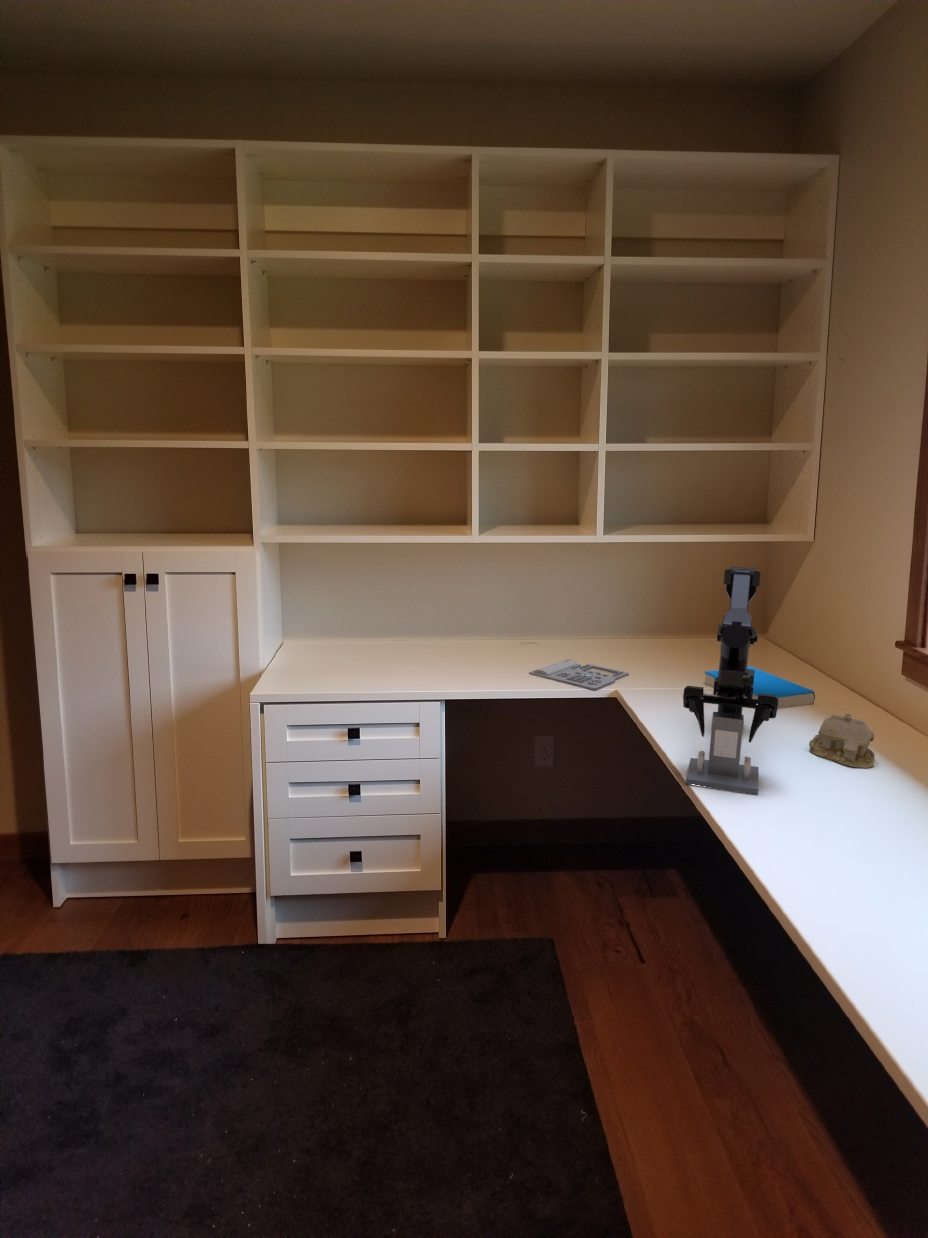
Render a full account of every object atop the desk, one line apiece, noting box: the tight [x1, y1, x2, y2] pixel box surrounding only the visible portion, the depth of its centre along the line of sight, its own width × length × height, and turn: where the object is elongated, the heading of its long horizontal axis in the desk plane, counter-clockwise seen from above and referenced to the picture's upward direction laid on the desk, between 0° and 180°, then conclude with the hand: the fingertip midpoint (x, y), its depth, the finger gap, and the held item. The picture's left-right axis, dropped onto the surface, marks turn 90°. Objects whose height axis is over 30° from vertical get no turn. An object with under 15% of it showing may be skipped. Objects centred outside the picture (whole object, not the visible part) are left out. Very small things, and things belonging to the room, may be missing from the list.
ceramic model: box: [808, 713, 876, 769], centre depth 185 cm, size 14×11×10 cm
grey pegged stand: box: [685, 750, 760, 795], centre depth 173 cm, size 12×14×5 cm
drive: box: [708, 711, 745, 778], centre depth 172 cm, size 3×6×12 cm, turn 71°
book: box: [704, 665, 816, 709], centre depth 230 cm, size 17×4×25 cm
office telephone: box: [528, 659, 630, 692], centre depth 245 cm, size 23×3×20 cm
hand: (726, 738), depth 170 cm, fingers open, 9 cm apart
